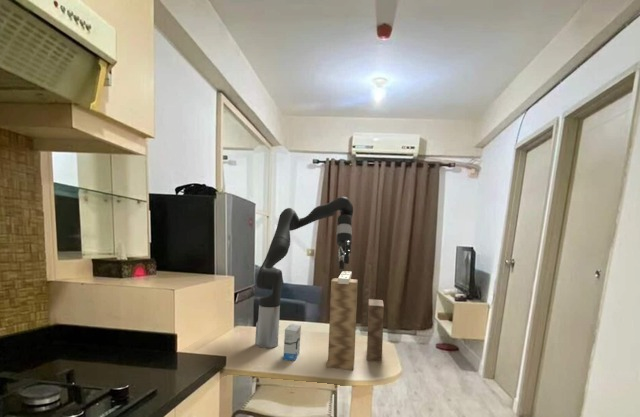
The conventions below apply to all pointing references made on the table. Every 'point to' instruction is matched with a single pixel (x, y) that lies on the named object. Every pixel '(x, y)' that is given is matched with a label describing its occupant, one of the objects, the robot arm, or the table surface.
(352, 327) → the oak post
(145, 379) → the table surface
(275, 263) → the robot arm
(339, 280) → the long ivory domino tile
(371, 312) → the walnut post
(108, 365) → the table surface
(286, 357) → the ink box
